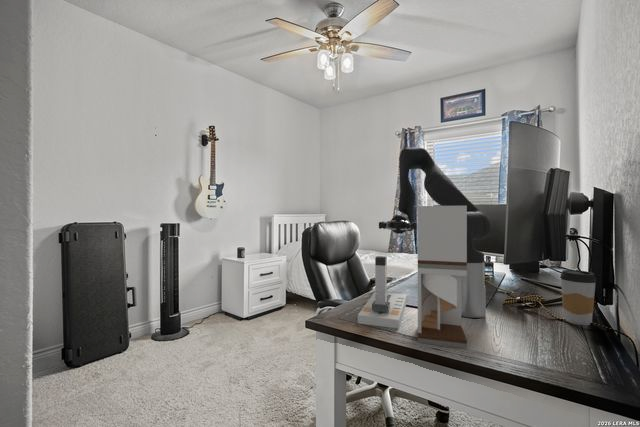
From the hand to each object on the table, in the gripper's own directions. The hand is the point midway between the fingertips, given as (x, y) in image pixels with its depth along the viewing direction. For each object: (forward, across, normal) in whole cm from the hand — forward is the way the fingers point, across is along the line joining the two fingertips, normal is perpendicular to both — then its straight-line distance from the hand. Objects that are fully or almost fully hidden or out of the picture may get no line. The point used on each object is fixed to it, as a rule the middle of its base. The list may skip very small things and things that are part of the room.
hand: (395, 226), depth 113 cm
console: (+13, -2, +28) cm, 31 cm away
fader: (+21, -2, +25) cm, 33 cm away
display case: (+29, +15, +28) cm, 43 cm away
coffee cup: (+3, +54, +28) cm, 61 cm away
